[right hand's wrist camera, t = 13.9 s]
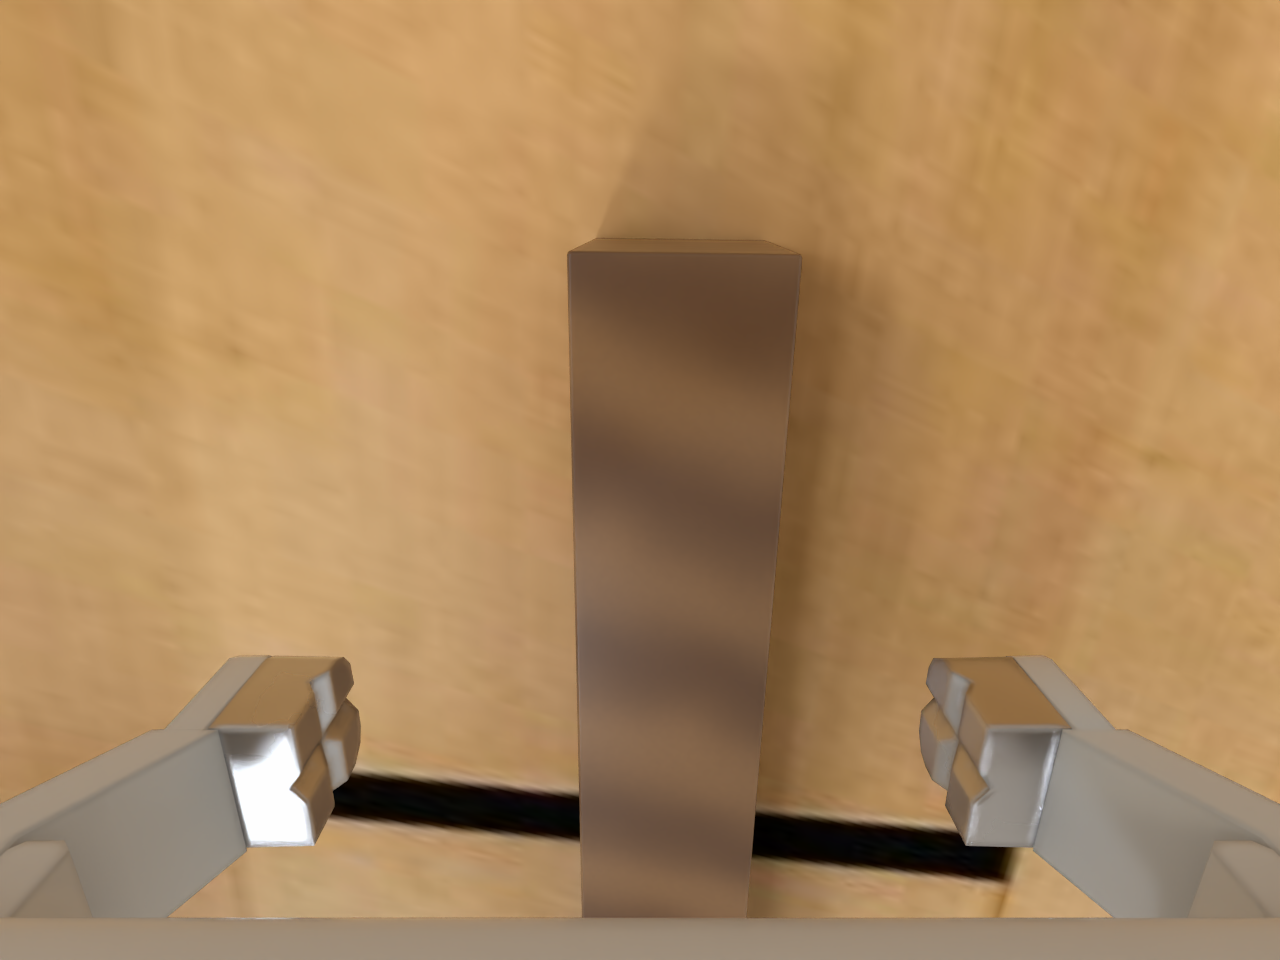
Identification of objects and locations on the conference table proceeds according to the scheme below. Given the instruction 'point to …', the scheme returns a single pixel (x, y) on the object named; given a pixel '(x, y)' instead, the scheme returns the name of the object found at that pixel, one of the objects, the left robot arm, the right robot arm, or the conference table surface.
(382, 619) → the conference table surface
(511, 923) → the right robot arm
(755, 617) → the beam
